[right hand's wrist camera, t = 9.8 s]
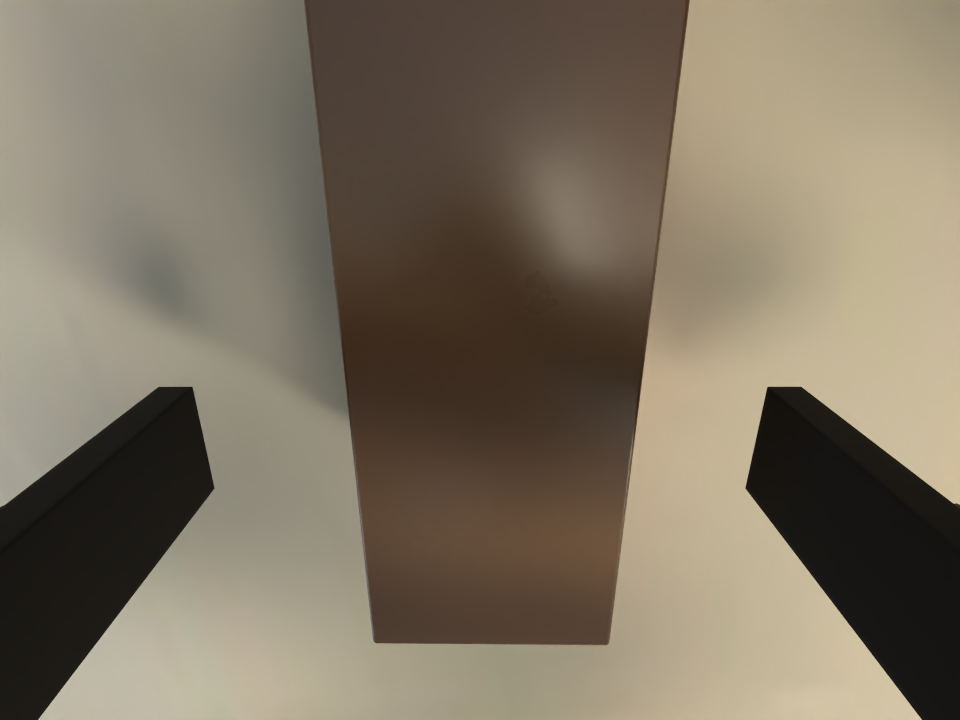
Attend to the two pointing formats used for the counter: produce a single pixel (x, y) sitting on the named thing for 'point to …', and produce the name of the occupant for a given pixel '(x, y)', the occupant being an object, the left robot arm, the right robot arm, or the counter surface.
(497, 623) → the bar
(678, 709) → the counter surface
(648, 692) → the counter surface
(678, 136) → the counter surface
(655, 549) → the counter surface
